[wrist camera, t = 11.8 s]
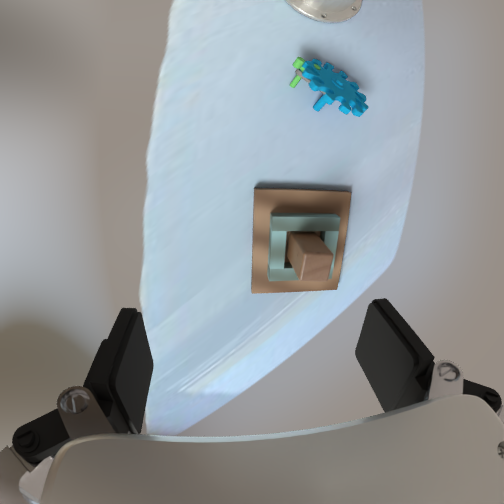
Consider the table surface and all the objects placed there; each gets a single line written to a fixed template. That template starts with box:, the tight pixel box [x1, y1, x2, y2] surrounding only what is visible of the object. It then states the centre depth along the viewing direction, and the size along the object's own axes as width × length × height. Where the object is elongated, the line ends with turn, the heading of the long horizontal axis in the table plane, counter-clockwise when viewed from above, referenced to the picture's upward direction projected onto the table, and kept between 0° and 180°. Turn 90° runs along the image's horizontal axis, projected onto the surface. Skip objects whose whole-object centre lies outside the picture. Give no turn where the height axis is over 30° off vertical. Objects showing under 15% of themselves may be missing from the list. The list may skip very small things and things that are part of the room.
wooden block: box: [287, 231, 334, 282], centre depth 38 cm, size 4×4×8 cm
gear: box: [290, 57, 369, 117], centre depth 32 cm, size 11×6×10 cm
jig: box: [251, 188, 351, 293], centre depth 41 cm, size 16×14×3 cm
